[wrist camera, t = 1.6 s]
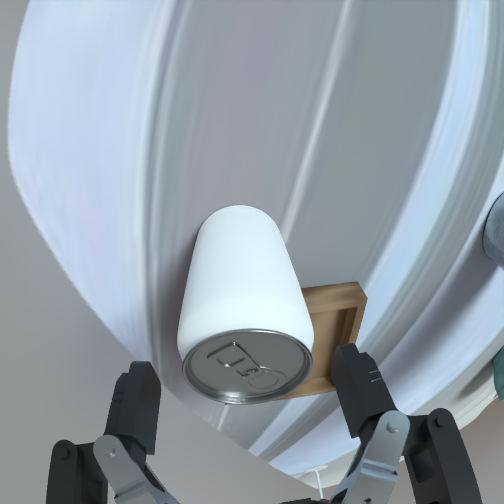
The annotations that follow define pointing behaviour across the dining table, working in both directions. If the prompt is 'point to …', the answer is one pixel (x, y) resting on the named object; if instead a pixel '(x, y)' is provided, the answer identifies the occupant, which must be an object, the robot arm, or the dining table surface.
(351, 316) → the tray
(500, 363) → the teal green bowl
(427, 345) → the dining table surface
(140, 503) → the robot arm
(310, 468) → the wineglass
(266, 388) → the can
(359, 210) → the dining table surface
